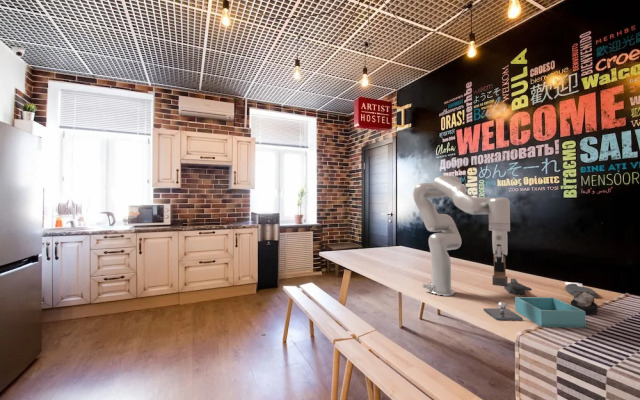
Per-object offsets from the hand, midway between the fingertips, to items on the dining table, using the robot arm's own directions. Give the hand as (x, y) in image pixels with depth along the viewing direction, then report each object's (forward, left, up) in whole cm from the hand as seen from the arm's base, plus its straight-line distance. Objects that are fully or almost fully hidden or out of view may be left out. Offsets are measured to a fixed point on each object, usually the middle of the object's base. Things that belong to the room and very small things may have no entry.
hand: (499, 270), depth 116 cm
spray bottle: (+58, +34, -19) cm, 70 cm away
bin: (+16, -4, -19) cm, 25 cm away
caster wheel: (+38, +6, -19) cm, 43 cm away
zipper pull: (+24, +28, -19) cm, 41 cm away
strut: (0, 0, -6) cm, 6 cm away
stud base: (0, -1, -19) cm, 19 cm away
